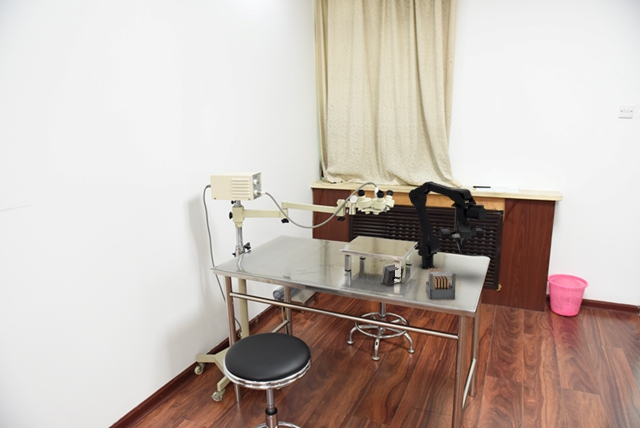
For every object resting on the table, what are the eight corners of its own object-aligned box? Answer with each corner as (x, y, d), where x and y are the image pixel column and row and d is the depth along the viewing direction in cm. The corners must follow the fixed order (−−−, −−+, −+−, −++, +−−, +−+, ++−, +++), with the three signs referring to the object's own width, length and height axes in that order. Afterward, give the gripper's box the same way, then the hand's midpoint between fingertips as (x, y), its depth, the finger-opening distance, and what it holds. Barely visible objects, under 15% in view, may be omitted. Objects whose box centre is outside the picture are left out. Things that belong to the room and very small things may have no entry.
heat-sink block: (427, 285, 177) (427, 268, 176) (441, 285, 177) (442, 267, 175) (434, 298, 164) (434, 279, 162) (449, 298, 163) (449, 279, 162)
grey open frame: (425, 290, 171) (425, 267, 169) (449, 290, 170) (450, 267, 168) (429, 299, 163) (430, 274, 161) (455, 299, 162) (455, 274, 160)
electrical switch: (398, 279, 186) (399, 260, 183) (404, 284, 181) (405, 264, 179) (380, 283, 182) (381, 263, 179) (386, 287, 178) (387, 268, 175)
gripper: (444, 222, 173) (443, 257, 176) (489, 221, 172) (487, 256, 175) (438, 216, 184) (438, 249, 187) (481, 215, 183) (479, 249, 186)
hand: (460, 251), depth 184 cm, fingers closed
